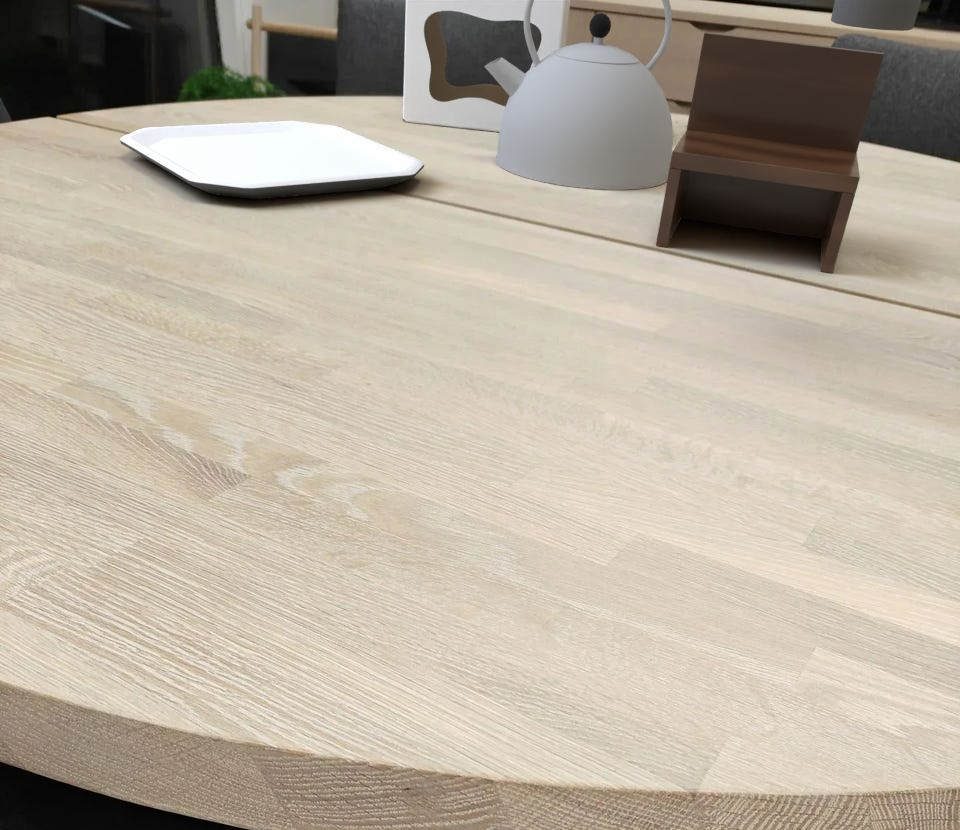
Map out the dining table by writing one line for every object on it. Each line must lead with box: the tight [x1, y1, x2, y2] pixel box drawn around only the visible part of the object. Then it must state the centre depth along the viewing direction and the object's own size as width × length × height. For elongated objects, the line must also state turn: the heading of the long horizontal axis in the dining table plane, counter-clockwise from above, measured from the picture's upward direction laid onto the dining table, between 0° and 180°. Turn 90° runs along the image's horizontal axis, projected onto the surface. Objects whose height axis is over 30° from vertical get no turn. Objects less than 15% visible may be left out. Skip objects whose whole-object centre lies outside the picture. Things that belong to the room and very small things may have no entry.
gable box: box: [402, 0, 571, 133], centre depth 141 cm, size 22×13×28 cm, turn 82°
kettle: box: [484, 0, 674, 191], centre depth 123 cm, size 25×23×22 cm
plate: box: [119, 120, 425, 200], centre depth 116 cm, size 29×29×2 cm
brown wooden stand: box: [655, 31, 885, 274], centre depth 102 cm, size 14×18×18 cm
